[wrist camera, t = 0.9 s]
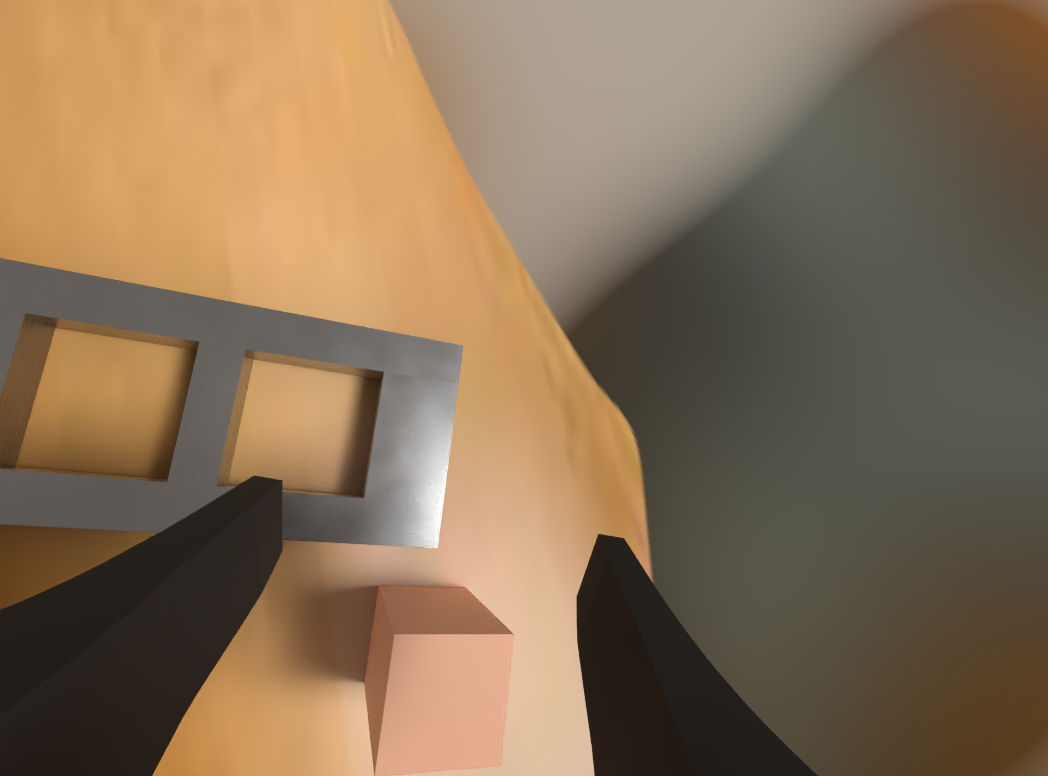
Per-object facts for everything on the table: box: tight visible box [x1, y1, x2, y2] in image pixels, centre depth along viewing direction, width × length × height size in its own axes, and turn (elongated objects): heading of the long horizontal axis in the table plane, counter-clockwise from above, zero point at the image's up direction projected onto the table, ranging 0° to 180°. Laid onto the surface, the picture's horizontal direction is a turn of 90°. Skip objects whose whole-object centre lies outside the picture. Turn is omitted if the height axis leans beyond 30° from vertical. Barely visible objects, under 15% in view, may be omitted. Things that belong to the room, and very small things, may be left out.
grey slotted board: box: [0, 258, 463, 548], centre depth 19 cm, size 9×26×2 cm, turn 84°
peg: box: [364, 585, 514, 776], centre depth 19 cm, size 4×4×7 cm
